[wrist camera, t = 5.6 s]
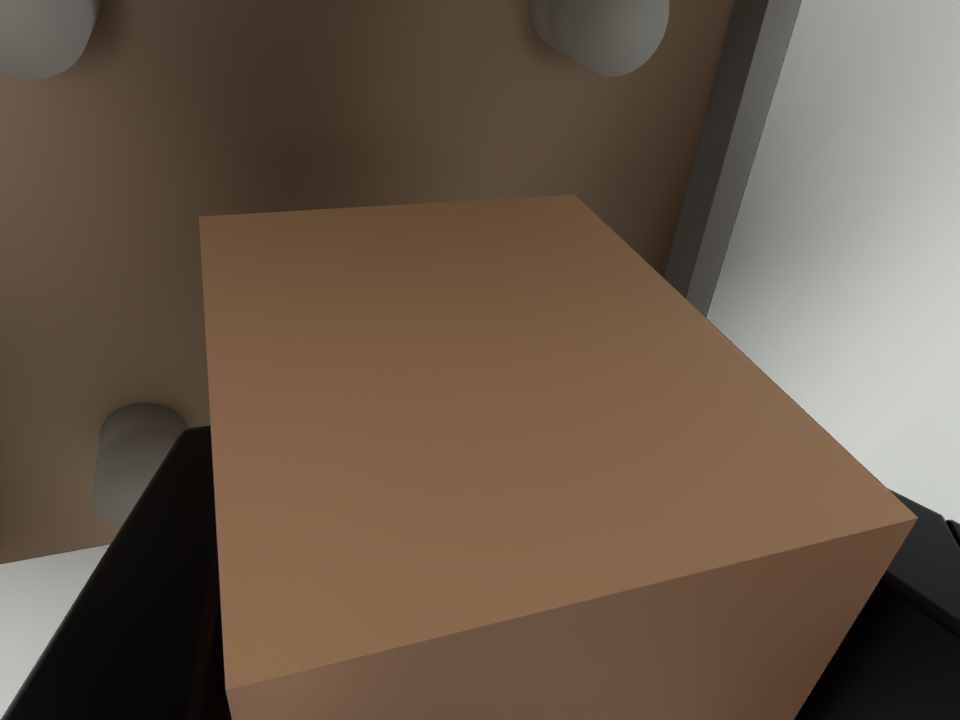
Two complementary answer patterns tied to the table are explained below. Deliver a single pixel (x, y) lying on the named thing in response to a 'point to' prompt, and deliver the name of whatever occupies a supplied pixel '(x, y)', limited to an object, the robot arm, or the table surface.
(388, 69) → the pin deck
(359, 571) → the block
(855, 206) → the table surface
